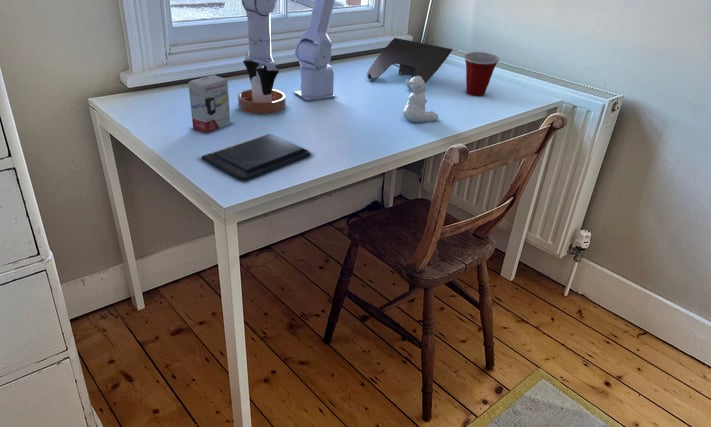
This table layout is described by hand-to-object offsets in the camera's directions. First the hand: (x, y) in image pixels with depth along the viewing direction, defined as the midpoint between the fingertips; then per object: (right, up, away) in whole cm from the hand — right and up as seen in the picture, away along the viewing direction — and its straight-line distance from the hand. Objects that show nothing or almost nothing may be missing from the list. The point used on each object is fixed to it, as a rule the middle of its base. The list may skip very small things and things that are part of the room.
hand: (261, 90), depth 139 cm
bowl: (0, -4, +3) cm, 5 cm away
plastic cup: (+65, +5, +26) cm, 70 cm away
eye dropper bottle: (0, -4, +2) cm, 5 cm away
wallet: (+4, -21, -26) cm, 33 cm away
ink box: (-10, -12, -11) cm, 19 cm away
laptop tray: (+42, +11, +34) cm, 56 cm away
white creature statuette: (+43, -8, +2) cm, 43 cm away
